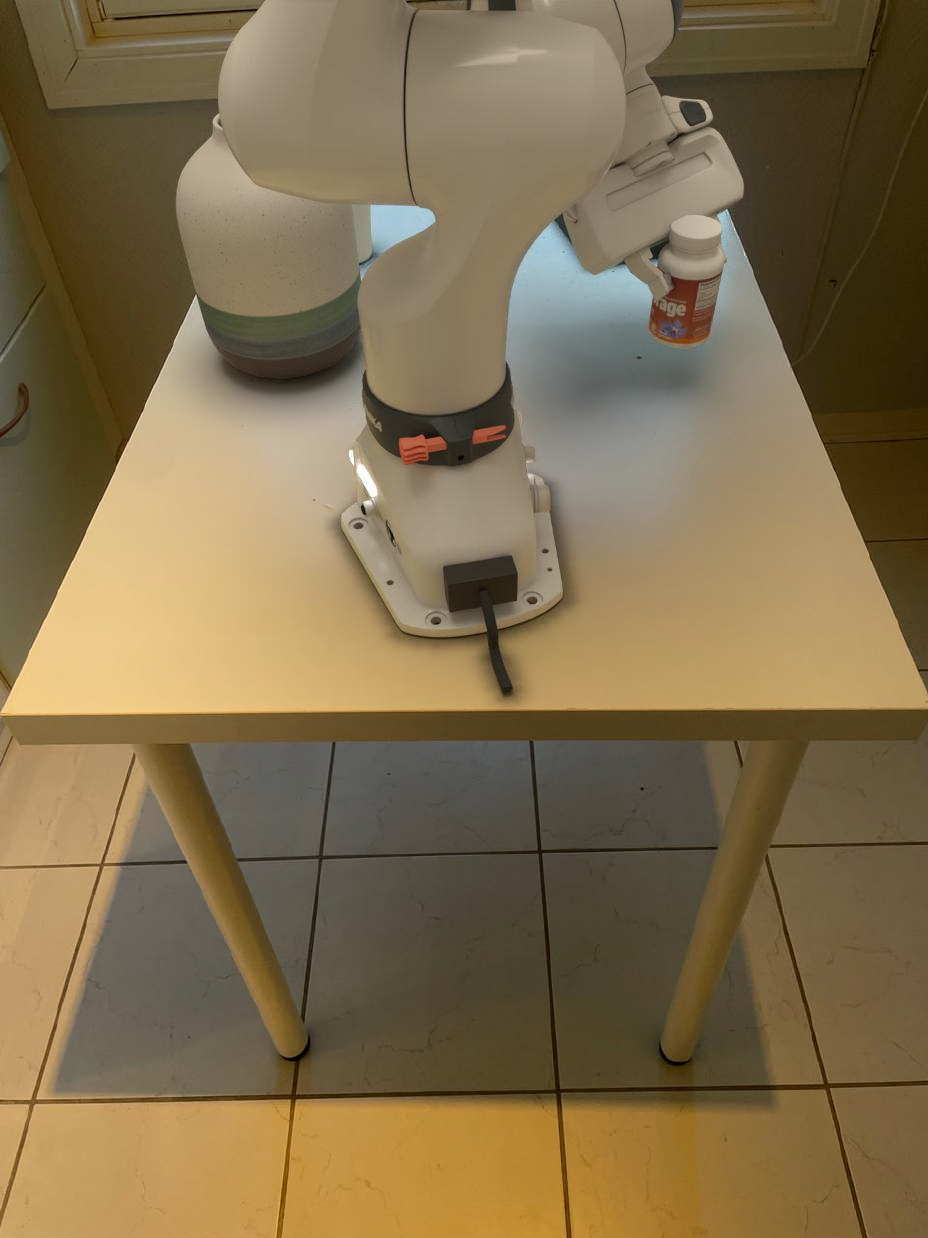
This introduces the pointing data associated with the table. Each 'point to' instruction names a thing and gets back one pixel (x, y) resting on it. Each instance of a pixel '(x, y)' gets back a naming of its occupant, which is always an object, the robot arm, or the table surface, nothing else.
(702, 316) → the pill bottle
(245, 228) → the vase
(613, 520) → the table surface
